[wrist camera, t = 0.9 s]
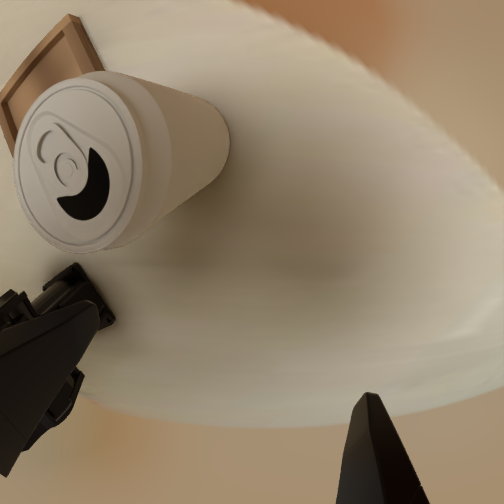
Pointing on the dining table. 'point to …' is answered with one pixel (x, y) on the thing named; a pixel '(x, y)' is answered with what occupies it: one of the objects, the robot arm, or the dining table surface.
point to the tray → (46, 72)
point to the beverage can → (113, 158)
